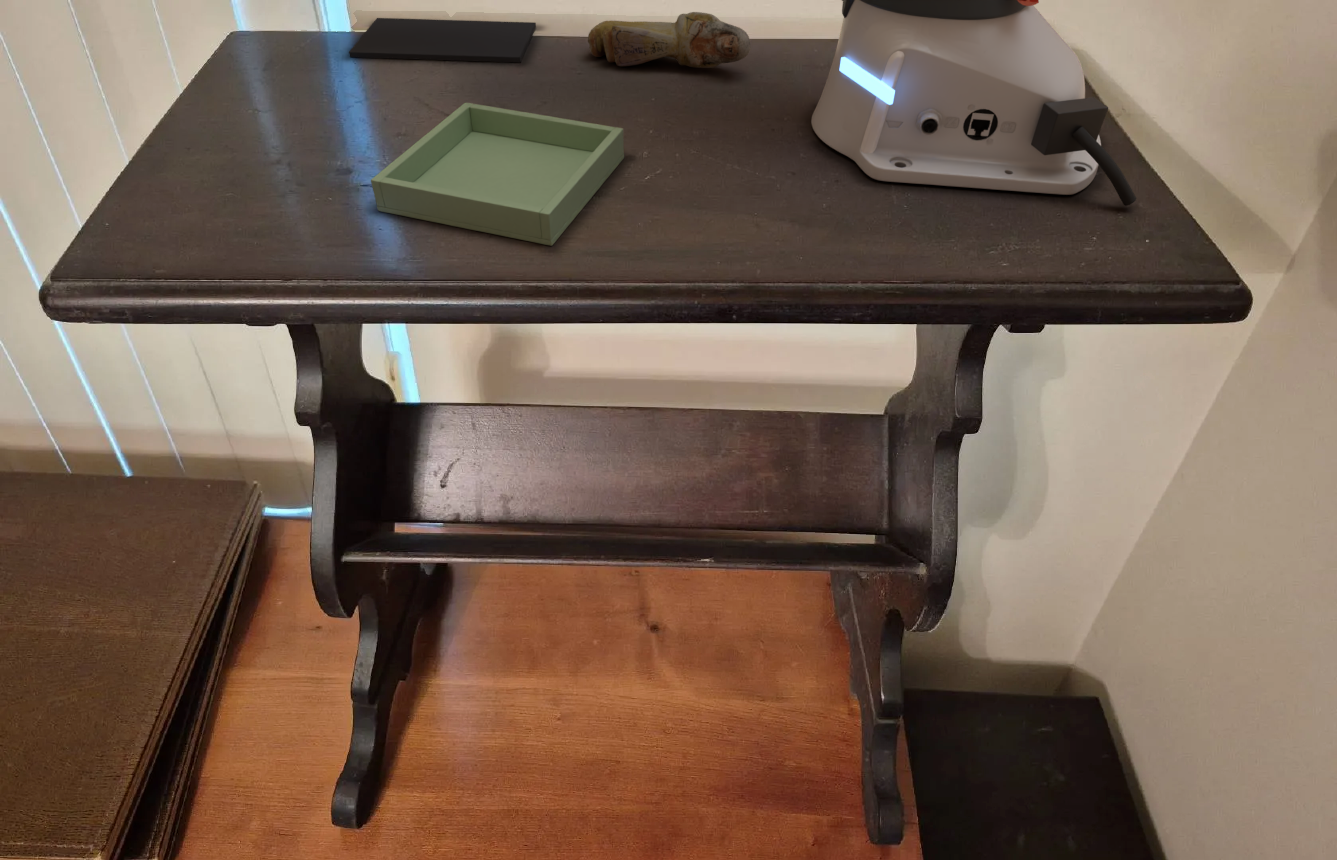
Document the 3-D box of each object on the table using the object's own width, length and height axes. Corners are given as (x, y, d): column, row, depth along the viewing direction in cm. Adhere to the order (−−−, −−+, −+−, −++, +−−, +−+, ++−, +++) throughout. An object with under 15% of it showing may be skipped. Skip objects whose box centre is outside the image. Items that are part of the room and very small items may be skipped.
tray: (624, 157, 68) (623, 127, 66) (551, 246, 59) (549, 214, 57) (469, 130, 71) (465, 101, 69) (377, 210, 62) (369, 179, 60)
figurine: (576, 40, 79) (733, 40, 73) (595, -4, 81) (750, -7, 75) (596, 83, 83) (745, 87, 78) (614, 41, 85) (761, 41, 80)
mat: (536, 27, 88) (535, 22, 87) (520, 62, 81) (519, 57, 81) (378, 22, 88) (376, 17, 88) (349, 57, 82) (348, 51, 81)
